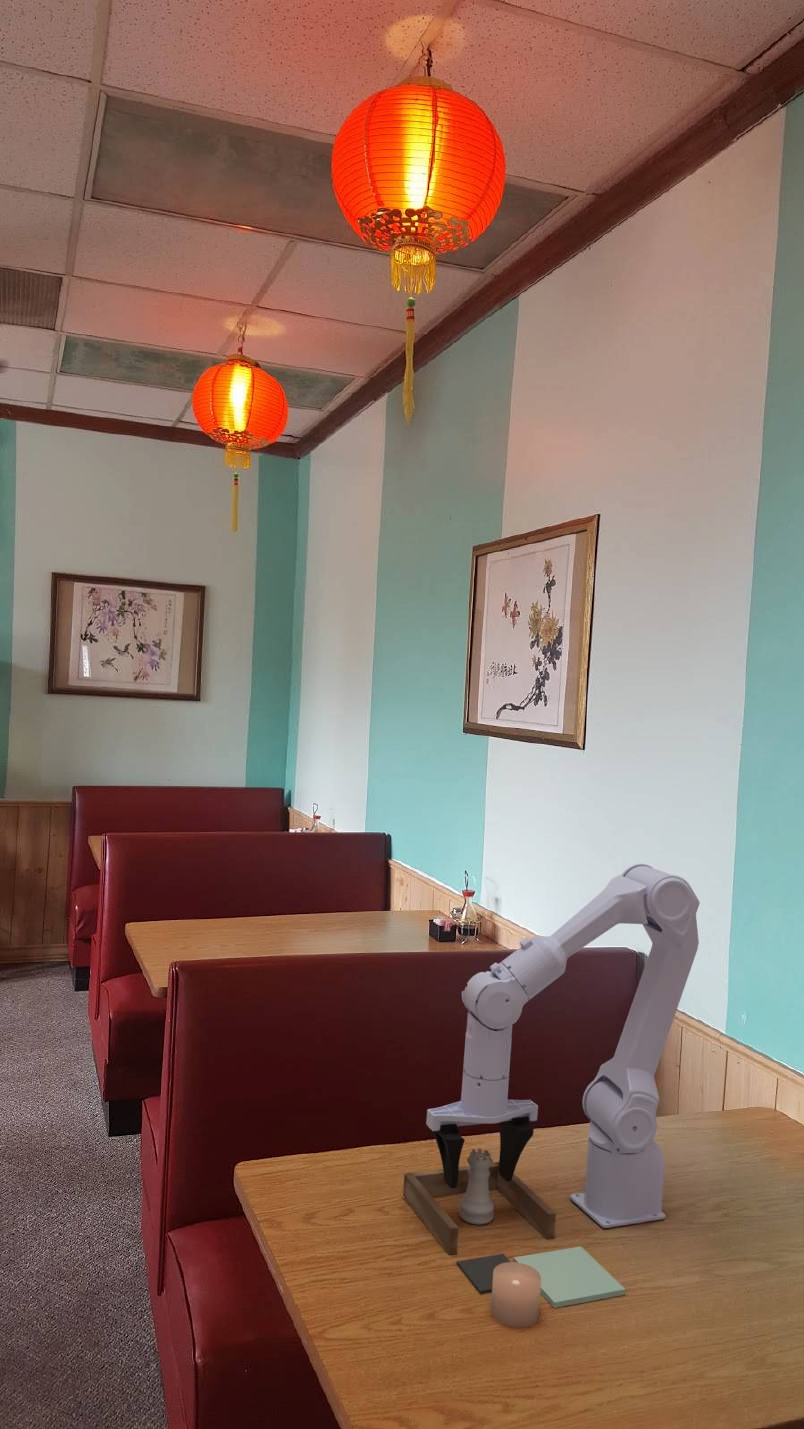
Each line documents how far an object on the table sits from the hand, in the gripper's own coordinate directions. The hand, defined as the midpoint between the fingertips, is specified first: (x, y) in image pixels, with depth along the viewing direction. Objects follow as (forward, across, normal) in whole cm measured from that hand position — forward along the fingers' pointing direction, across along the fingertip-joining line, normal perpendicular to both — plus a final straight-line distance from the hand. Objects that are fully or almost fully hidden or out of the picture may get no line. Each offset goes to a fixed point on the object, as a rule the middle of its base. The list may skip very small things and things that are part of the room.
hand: (478, 1181), depth 125 cm
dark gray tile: (+4, +4, +12) cm, 13 cm away
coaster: (+4, -4, +15) cm, 16 cm away
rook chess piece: (+5, 0, 0) cm, 5 cm away
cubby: (+4, 0, 0) cm, 5 cm away
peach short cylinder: (+5, +5, +19) cm, 20 cm away
